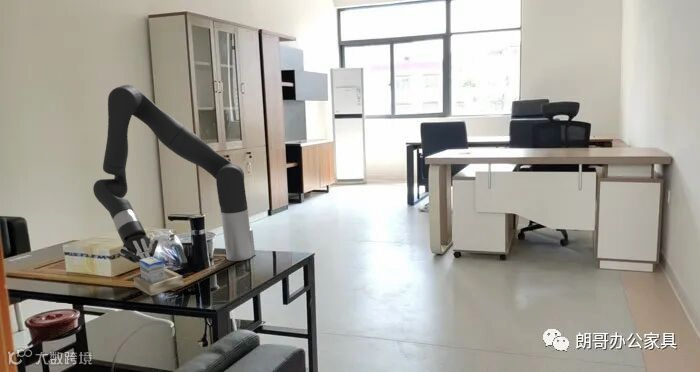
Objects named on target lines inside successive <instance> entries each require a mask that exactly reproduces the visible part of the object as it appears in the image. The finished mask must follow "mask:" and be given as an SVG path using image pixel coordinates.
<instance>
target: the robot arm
mask: <svg viewBox="0 0 700 372" xmlns="http://www.w3.org/2000/svg"><path fill="white" fill-rule="evenodd" d="M107 113H108V115H107V117H108V118H107V120H108V121H107V123H108V124H107V139H106V146H105V152H104V156H103V158H104V159H103V163H102V170H103V172H105V173H106V174H108V175H113V176H114V178H107V179H106V178H103V179H101V178H100V179H98V180H96V181H95V182H94V184H93V188H92V190H93V195H94V196H95V198H96V200H97V201H98V202H99V203H100V204H101V205H102V206H103V207H104V208H105V210H107V212H108V213H109V215H110V217H111V219H112V221H113V224H114V227H115V231H117V233H118V235H119V238H120V240H121V241H122V245H123V247H122V248H121V249H120V251H119V256H120V257H122V258H123V259H126V260H128V261H130V262H132V263H134V264H135V263H139V260H141V259H144V258H148V257H154V255H155V253H156V250H157V246H158V244H159V240H157V239H155V240H153V239H151V238H150V236H147V234H146V231H145V229H144V227H143V224H142V222H141V221H140V219H139V217H138V215H137V214H136V213H135V211H134V209H133V207H132V205H131V202H130V201H129V200H128V199H126V198H124V197H126V195H127V193H128V182H127V173H126V167H127V161H128V154H129V140H128V132H129V125H130V121H131V119H132V117H133V116H134V117H135V118H137V119H138V120H140V121H141V122H142V123H144V124H145V125H147V127H148V128H149V129H150V130H151V132H152V133H154V135H155V136H156V138H157V139H158V140H159V141H160V142H161V143H162V144H163V145H164V146H165V147H166V148H168V149H169V150H170V151H172V152H173V153H174V154H176V155H177V156H179V157H180V158H182V159H184V160H186V161H187V162H189V163H191V164H193V165H196V166H199V167H200V168H202V169H204V171H206V172H207V173H209V174H210V175H211V176H212V177H213V178H214V179H215V183H216V189H217V196H218V197H217V198H218V205H219V208H220V216H221V223H222V230H223V241H224V248H225V257H226V260H227V261H229V262H240V261H245V260H249V259H251V258H253V257H254V256H256V249H255V248H256V247H255V241H254V239H255V238H254V232H253V229H252V228H250V227H251V226H250V225H251V224H250V218H249V209H248V202H247V196H246V187H245V172H244V170H243V169H242V168H241V167H240V166H239V165H238V164H236V163H234V162H233V161H231V160H229V159H227V158H226V157H225V156H223V155H221V154H220V153H218V152H217V151H215V150H214V149H213V148H212V147H211V146H210V145H209V144H208V143H206V141H204V140H203V139H201V138H200V137H199V136H198V135H197V134H196V133H194V131H192V130H190V129H189V128H188V127H186V126H185V125H184V124H182V123H181V122H179V121H178V120H177V119H175V118H174V117H173V116H171V115H170V114H169V113H167V112H166V111H164V110H163V109H161V108H160V107H159V106H157V105H156V104H155V103H154V102H153V101H152V100H151V99H150V98H149V97H147V95H145V94H144V93H143V92H142V90H140V89H139V88H138V87H136V86H134V85H132V84H131V85H129V84H123V85H121V86H118V87H115V88H113V89H112V90H111V91H110V93H109V94H108V98H107ZM149 246H150V248H151V249H150V252H149Z"/></svg>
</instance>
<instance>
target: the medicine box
mask: <svg viewBox="0 0 700 372" xmlns="http://www.w3.org/2000/svg"><path fill="white" fill-rule="evenodd" d="M138 263H139V268H140V269H139V270H140V278H141V279H143V280H145V281H147V282H149V283H151V284H154V283H157V282H160V281H164V280H166V279H165V272H164V268H165V266H164V262H163V260H160V259H158V258H156V257H154V256H153V257H148V258H144V259H141V260H139V262H138Z"/></svg>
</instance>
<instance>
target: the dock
mask: <svg viewBox="0 0 700 372" xmlns="http://www.w3.org/2000/svg"><path fill="white" fill-rule="evenodd" d="M164 272H165V279H166V280H164V281H160V282H157V283H154V284H151V283H149V282H147V281H145V280H143V279H142V278H141V277H139V276H134V277H133V283H134V284H133V286H134V287H135V288H136V289H138V290H139V291H141V292H144V293H145V294H148V295H149V296H152V297H153V296H155V295H158V294H160V293H164V292H167V291H169V290H173V289H177V288H178V287H182V286H184V278H183V275H182V274H179V273H177V272H175V271H172V270H170V269H168V268H166V267H164Z"/></svg>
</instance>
